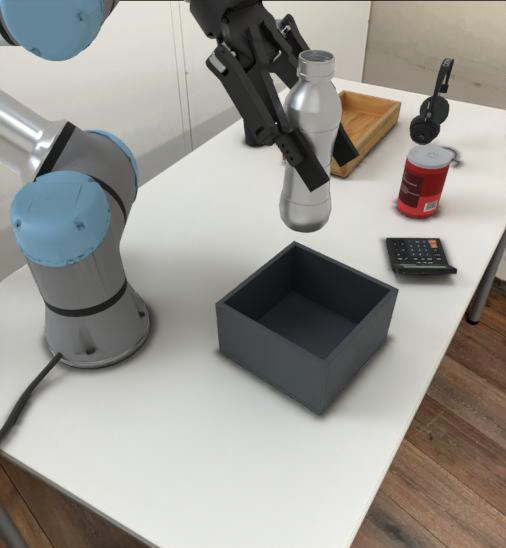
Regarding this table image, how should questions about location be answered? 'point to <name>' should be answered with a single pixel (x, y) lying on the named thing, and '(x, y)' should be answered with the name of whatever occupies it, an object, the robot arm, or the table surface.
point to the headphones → (433, 109)
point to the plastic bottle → (311, 139)
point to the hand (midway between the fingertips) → (335, 173)
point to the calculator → (418, 256)
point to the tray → (364, 124)
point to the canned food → (423, 180)
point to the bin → (305, 323)
